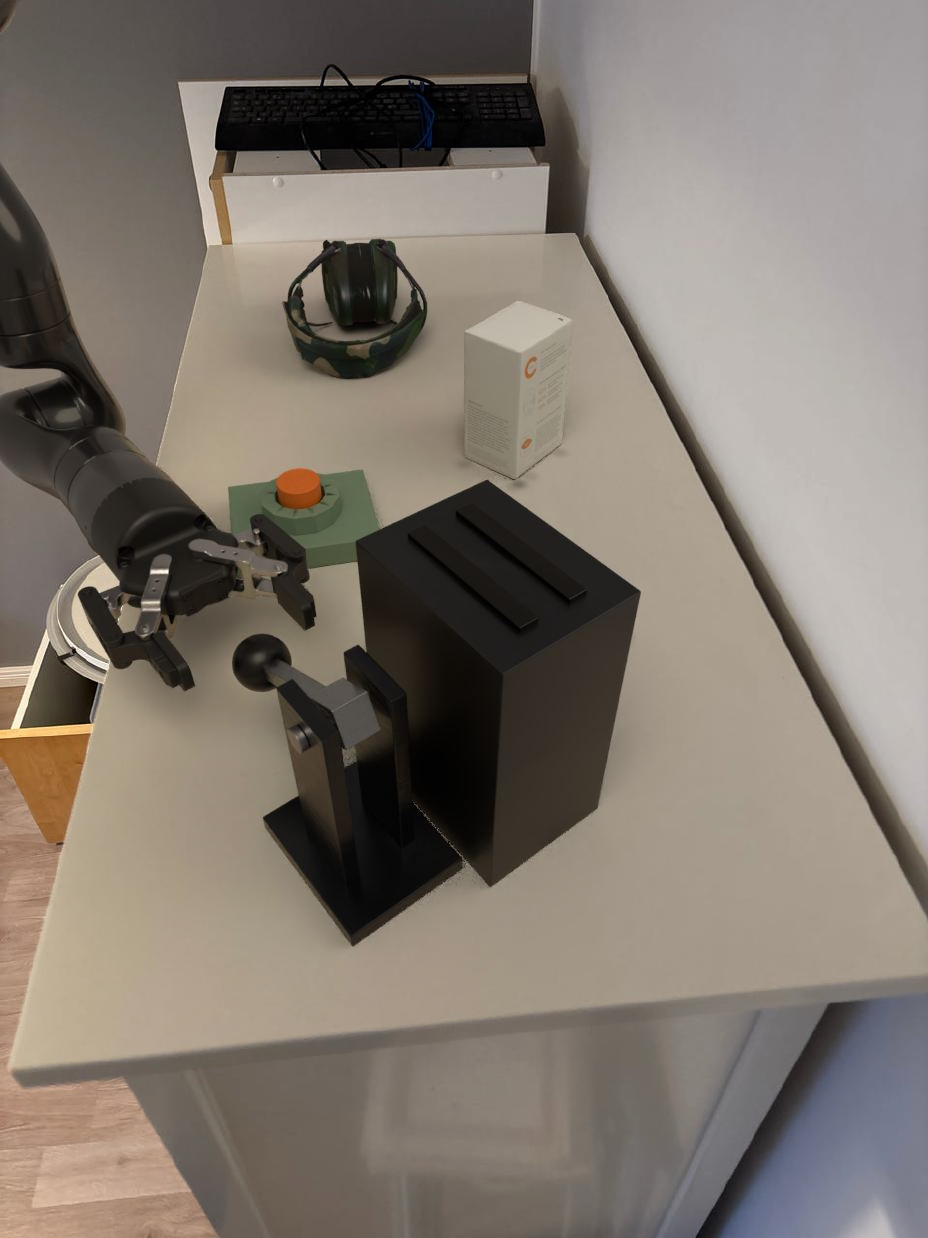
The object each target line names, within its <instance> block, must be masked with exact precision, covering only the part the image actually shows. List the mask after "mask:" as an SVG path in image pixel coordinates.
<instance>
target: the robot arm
mask: <svg viewBox="0 0 928 1238" xmlns="http://www.w3.org/2000/svg"><path fill="white" fill-rule="evenodd" d="M20 3H21V0H0V37H2V35H3V34H4V32H5V31H6V30H7V29H8V28H9V26H10V24H11V23H12V21H13V20H14V18H15V15H16V14H17V11H18V9H19V6H20ZM72 314H73V313H72V312H71V308H70V304H69V300H68V297H67V294H66V291H65V287H64V283H63V280H62V276H61V272H60V269H59V267H58V264H57V260H56V257H55V255H54V253H53V249H52V246H51V244H50V241H49V239H48V237H47V234H46V233H45V231H44V229H43V226H42V225H41V223H40V221H39V219H38V217H37V216H36V214H35V212H34V211H33V209H32V208H31V206H30V204H29V202H28V201H27V200H26V199H25V197H24V195H23V194H22V192H21V191H20V189H19V188H18V186H17V185H16V183H15V181H13V179H12V177H11V176H10V174H9V173H8V172H7V170H6V169H5V167H4V166H3V164H2V163H1V162H0V367H1V368H5V369H11V370H56V371H59V372H60V376H59V377H56V378H53V379H50V380H46V381H42V382H39V383H35V384H32V385H28V386H25V387H24V386H23V388H21V387H20V388H18V389H14V390H11V391H7V392H4V393H2V394H0V463H1V464H2V465H3V466H4V467H5V468H6V469H7V470H8V471H9V472H10V473H12V474H13V475H14V476H15V477H17V478H18V479H20V480H22V481H23V482H25V483H26V484H29V485H30V486H32V487H34V488H36V489H38V490H40V491H42V492H44V493H46V494H48V495H50V496H52V497H53V498H55V499H57V500H59V501H60V502H61V503H62V504H63V506H64V507H65V508H66V509H67V511H68V512H69V514H71V516H72V517H73V518H74V520H75V522H76V524H77V526H78V528H79V530H80V532H81V534H82V535H83V537H84V538H85V539H86V542H87V544H88V546H89V548H90V549H92V551H93V552H94V553H95V554H97V555H98V556H99V557H100V558H101V560H102V561H103V562H104V564H105V565H106V567H107V568H108V569H109V570H110V571H111V573H112V574H113V575H114V577H116V579H117V580H118V585H116V586H113V587H111V588H107V589H106V590H103V591H101V592H99V590H98V589H97V588H96V587H95V586H91V585H89V586H84V587H82V588H81V589H79V591H78V592H77V598H78V599H79V602H80V604H81V608H82V610H83V612H84V614H85V617H86V619H87V622H88V624H89V626H90V628H91V629H92V631H93V633H94V634H95V636H96V638H97V640H98V642H99V643H100V645H101V647H102V648H103V651H104V652H105V654H106V655H107V657H108V659H109V661H110V662H111V664H112V666H113V668H114V669H117V670H125V669H128V668H130V667H131V665H132V664H133V662H135V661H141V660H142V661H145V662H147V663H149V664H150V666H151V667H152V669H154V671H155V672H156V673H157V674H158V676H159V677H160V679H161V680H162V681H163V683H164V684H165V685H166V687H169V688H171V689H175V688H177V687H180V689H181V690H182V691H183V692H184V693H185V692H188V691H190V690H191V689H193V688H195V687H196V682H195V679H194V676H193V673H192V670H191V668H190V666H189V663H188V662H187V660H186V659H185V658H184V656H182V654H181V653H180V651H179V650H178V649H177V647H176V646H175V645H174V644H173V642H171V640H170V639H172V638H173V637H174V633H175V629H176V626H177V622H178V618H179V617H180V616H184V615H185V616H186V618H189V617H191V616H193V615H195V614H197V613H199V612H200V611H202V610H203V609H205V608H206V607H208V606H210V605H215V604H217V603H218V604H219V603H221V602H223V601H225V600H227V599H229V598H230V596H232V597H239V598H244V599H251V600H254V599H256V598H257V597H258V596H259V597H260V596H261V597H265V598H272V599H276V601H277V604H278V605H279V606H280V607H281V608H282V609H283V610H284V611H285V613H287V614H288V615H289V616H290V618H291V619H292V620H293V621H294V622H295V623H296V624H297V625H298V626H299V627H300V628H301V629H302V631H304V632H306V631H309V630H310V629H312V628H314V627H315V626H316V621H315V618H316V617H317V616H318V615H317V609H316V602H315V598H314V595H313V594H312V593H311V592H310V591H309V590H308V588H306V587H305V586H304V585H303V584H305V583H307V582H308V581H309V580H310V579H311V576H310V571H309V568H308V566H307V560H306V557H307V555H306V549H305V548H304V547H303V546H302V545H300V544H299V543H298V542H297V541H295V540H294V539H293V538H292V537H291V536H289V535H288V534H287V533H286V532H285V531H283V530H282V529H281V528H280V527H279V526H277V525H276V524H275V523H274V522H273V521H271V520H270V519H269V518H268V517H267V516H265V515H263V514H256V515H254V516H252V517H251V518H250V523H251V527H250V528H248V529H246V530H244V531H242V532H240V533H238V534H236V535H232V533H230V532H226V531H223V530H220V529H219V528H218V527H217V526H216V524H215V523H214V522H213V521H212V519H211V518H210V517H209V516H208V515H207V514H206V513H205V512H204V511H203V510H202V508H200V507H199V506H198V505H197V503H196V502H195V501H194V500H193V499H192V498H191V497H190V496H189V495H188V494H187V493H186V492H185V491H184V490H183V489H182V488H181V487H180V486H179V485H178V484H177V482H175V480H174V479H173V478H172V477H171V476H170V475H169V474H168V473H167V472H165V471H164V470H163V469H162V468H161V467H159V466H158V465H157V464H155V463H153V462H152V461H151V460H150V459H149V458H148V457H147V456H146V455H145V454H144V453H143V452H142V451H141V450H140V448H138V447H137V446H136V445H135V444H134V442H133V441H131V439H129V438H128V437H127V436H126V435H125V434H126V429H127V427H126V426H127V423H126V422H127V421H126V417H125V413H124V410H123V409H122V407H121V404H120V403H119V401H118V399H117V397H116V396H115V394H114V393H113V391H112V390H111V388H110V387H109V385H108V384H107V382H106V380H105V379H104V378H103V376H102V374H101V373H100V372H99V370H98V369H97V366H96V365H95V363H94V361H93V359H92V358H91V355H90V354H89V352H88V351H87V348H86V347H85V344H84V342H83V340H82V338H81V336H80V333H79V331H78V329H77V326H76V324H75V321H74V318H73V315H72ZM264 557H266V558H264ZM238 568H239V569H240V571H241V574H242V578H238V574H237V573H238ZM264 577H270V579H267V578H264ZM126 604H127V605H128V606H130V607H131V608H135V609H140V614H139V616H138V620H137V623H136V625H135V629H134V630H130V631H124V632H123V630H122V629H121V626H120V625H119V620H118V619H119V618H120V617H121V616H122V610H121V609H122V607H123V606H124V605H126Z"/></svg>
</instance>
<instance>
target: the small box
mask: <svg viewBox="0 0 928 1238" xmlns="http://www.w3.org/2000/svg"><path fill="white" fill-rule="evenodd" d="M573 327H574V319H573V318H570V317H568V316H565V315H562V314H561V313H557V312H554V311H551V310H549V309H545V308H542V307H540V306H536V305H534V304H530V303H528V302H524V301H521V300H515V301H513V302H512V303H510V304H508V305H507V306H506V307H504V308H502V309H500V310H499V311H497V312H495V313H493V314H492V315H489V316H488V317H486V318H485V319H483V320H481V321H480V322H478V323H476V324H475V325H473V326H471V327H470V328H467V329H465V330H464V331H463V342H464V343H463V456H464V457H465V458H466V459H468V460H470V461H473V462H474V463H477V464H479V465H481V466H483V467H485V468H488V469H489V470H492V471H494V472H497V473H499V474H501V475H502V476H505V477H507V478H509V479H513V480H516V479H518V478H519V477H520V476H522V475H523V474H524V473H525V472H527V471H528V470H529V469H531V468H532V467H534V465H536V464H537V463H538V462H540V461H541V460H542V459H544V458H545V457H546V456H548V455H549V454H550V453H551V452H553V451H554V450H555V449H557V448H558V447H559V446H561V445H562V444H563V433H564V422H565V412H566V411H565V409H566V399H567V391H568V380H569V371H570V369H569V368H570V361H571V360H570V359H571V348H572V338H573Z"/></svg>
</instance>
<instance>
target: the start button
mask: <svg viewBox="0 0 928 1238" xmlns="http://www.w3.org/2000/svg"><path fill="white" fill-rule="evenodd" d="M317 473H318V472H316V471H314V470H312V469H308V468H304V467H303V468H302V467H301V468H298V467H297V468H292V469H289V470H286V471H284V472H282V473H281V474H279V476H277V477H276V478H277V480H276V487H277V493H278V499H279V502H280V504H281V505H282V506H284V507H285V508H290V509H295V510H297V509H304V508H310V507H312V506H314V505H316V504H318V503H319V502H320V500H321V498H322V493H321V485H320V478H319V476H318V474H317Z"/></svg>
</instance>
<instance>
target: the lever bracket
mask: <svg viewBox="0 0 928 1238" xmlns="http://www.w3.org/2000/svg"><path fill="white" fill-rule="evenodd" d="M343 661H344V669H345V676H346V678H345V679H347V680H348V681H350V682H352V683H354V684H356V685H358V686H359V687H361V688H363V689H365V690H367V691H368V693H369V696H370V699H371V702H372V704H373V707H374V710H375V713H376V716H377V719H378V722H379V724H380V727H381V730H380V731H379V732H377V733H375V734H373V735H372V736H370V737H368V738H367V739H365V740H363V741H362V742H360V743H358V744H356V745H355V746H354V749H355V750H354V751H355V757H356V760H355V761H354V762H351V763H349V764H348V765H346V766H345V762H344V761H345V760H344V753H343V748H342V746H341V739H340V732H339V731H338V730H337V729H336V727H335V726H334V725H333V724H332V723H331V722H330V721H329V719H328V718H327V717H326V716H325V715H324V714H323V713H322V711H321V710H320V709H319V708H318V707H317V706H316V705H315V703H314V702H313V701H312V700H311V699H310V698H309V697H308V695H307V694H306V693H305V692H304V691H303V690H302V689H301V687H300V686H299V685H298V684H297V683H296V682H295V681H294V680H293V679H291V680H289V681H288V682H286V683H284V684H282V685H280V686H278V687H276V689H275V690H276V694H277V699H278V703H279V709H280V713H281V718H282V722H283V728H284V733H285V737H286V742H287V747H288V751H289V756H290V760H291V766H292V771H293V775H294V780H295V784H296V785H295V786H296V789H297V794H298V795H297V796H295V797H293V798H292V799H290V800H289V801H287V802H285V803H283V804H282V805H280V806H279V807H277V808H275V809H273V810H271V811H270V812H268V813H267V814H265V815H263V817H262V820H263V824H264V828H265V829H266V830H267V832H268V833H269V834H270V836H271V838H272V839H273V840H274V842H275V843H276V845H278V847H279V848H280V850H281V851H282V852H283V854H284V855H285V856H286V858H287V860H288V861H289V862H290V864H291V866H293V868H294V869H295V870H296V872H297V874H299V875H300V877H301V878H302V880H303V881H304V882H305V884H306V885H307V887H308V888H309V889H310V891H311V893H313V895H314V896H315V898H316V899H317V901H318V902H319V903H320V905H321V906H322V907H323V908H324V910H325V911H326V913H327V914H328V916H329V917H330V918H331V919H332V921H333V922H334V924H335V925H336V927H337V928H338V929H339V930H340V932H341V934H342V935H343V936H344V937H345V939H346V940H347V942H348V943H349V944H350V946H352V947H354V946H356V945H357V944H359V943H360V942H361V941H362V940H364V939H366V938H367V937H368V936H370V935H371V934H373V933H374V932H375V931H377V930H378V929H380V928H381V927H382V926H384V925H385V924H387V923H388V922H390V921H391V920H392V919H393V918H395V917H397V916H398V915H399V914H401V913H402V912H403V911H405V910H406V909H408V908H409V907H411V906H412V905H414V904H415V903H416V902H418V901H420V899H422V898H423V897H424V896H426V895H427V894H429V893H430V892H432V891H433V890H434V889H436V888H438V886H440V885H442V884H443V883H444V882H446V881H447V880H449V879H450V878H451V877H453V876H454V875H456V874H457V873H458V872H460V871H461V870H462V869H463V856H462V855H461V854H460V853H459V852H457V850H456V849H455V847H454V846H453V845H452V844H451V843H450V842H449V841H448V840H447V838H446V837H445V836H444V835H443V834H442V833H441V832H439V829H438V828H437V827H436V826H435V825H434V824H433V823H432V822H431V820H430V819H429V818H428V817H427V816H426V815H425V814H424V813H423V811H422V810H421V809H420V808H419V807H417V805H416V804H415V802H414V801H413V800H412V782H411V764H410V745H409V727H408V708H407V693H406V692H405V691H404V690H403V689H402V688H401V687H400V686H399V685H398V684H397V683H396V682H395V681H394V680H393V679H392V678H391V677H390V676H389V675H388V674H387V673H386V672H385V671H384V670H383V669H382V668H381V667H380V666H379V665H378V664H377V663H376V662H375V661H374V660H373V659H372V657H371V656H370V655H369V654H368V653H367V652H366V649H364V648H363V647H362V646H361V645H360V644H356V645H353V646H352V647H350V648H348V649H346V650H345V651H343Z"/></svg>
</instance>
